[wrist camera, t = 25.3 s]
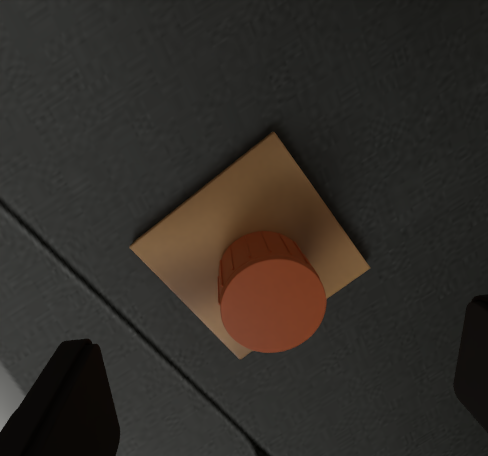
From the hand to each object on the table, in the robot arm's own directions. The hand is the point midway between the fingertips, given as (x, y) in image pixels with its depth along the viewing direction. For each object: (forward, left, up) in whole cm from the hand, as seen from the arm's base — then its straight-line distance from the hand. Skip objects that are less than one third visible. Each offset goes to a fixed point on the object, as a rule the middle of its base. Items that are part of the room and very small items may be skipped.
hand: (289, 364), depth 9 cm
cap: (+1, 0, -7) cm, 7 cm away
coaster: (0, 0, -8) cm, 8 cm away
